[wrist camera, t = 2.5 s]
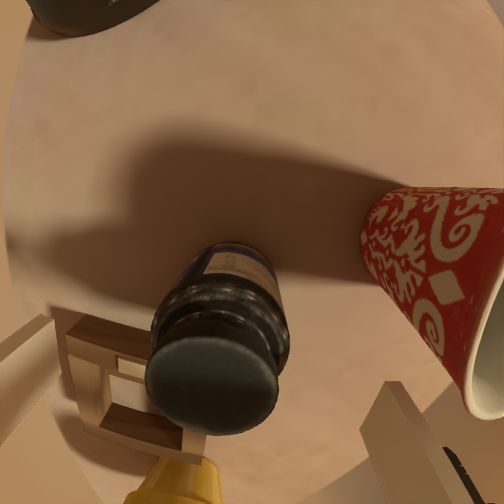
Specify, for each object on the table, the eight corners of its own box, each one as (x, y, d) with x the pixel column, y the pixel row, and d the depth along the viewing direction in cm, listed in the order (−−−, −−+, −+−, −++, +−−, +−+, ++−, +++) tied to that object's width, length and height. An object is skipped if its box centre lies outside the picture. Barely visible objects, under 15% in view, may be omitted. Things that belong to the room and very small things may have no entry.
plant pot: (141, 474, 26) (121, 535, 16) (142, 427, 24) (112, 504, 14) (224, 494, 27) (218, 558, 17) (245, 453, 24) (242, 535, 15)
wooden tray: (87, 314, 21) (62, 336, 17) (220, 347, 21) (214, 378, 17) (98, 408, 23) (83, 433, 20) (205, 438, 24) (200, 468, 20)
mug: (335, 297, 20) (423, 446, 7) (353, 164, 18) (512, 154, 5) (467, 300, 20) (572, 382, 7) (487, 195, 18) (619, 225, 5)
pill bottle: (215, 337, 21) (186, 459, 10) (169, 265, 20) (91, 353, 9) (293, 301, 20) (325, 417, 9) (251, 222, 19) (244, 281, 8)
